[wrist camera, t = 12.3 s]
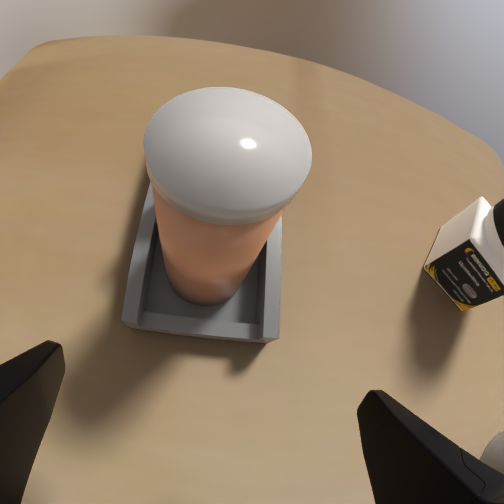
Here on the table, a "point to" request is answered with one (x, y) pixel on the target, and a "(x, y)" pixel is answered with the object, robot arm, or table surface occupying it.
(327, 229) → the table surface
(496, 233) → the medicine bottle
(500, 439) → the coffee mug
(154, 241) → the tray
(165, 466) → the table surface
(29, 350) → the robot arm
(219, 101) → the dome-lidded peach canister
